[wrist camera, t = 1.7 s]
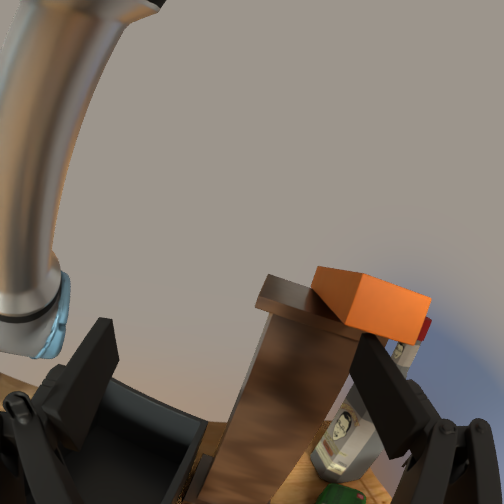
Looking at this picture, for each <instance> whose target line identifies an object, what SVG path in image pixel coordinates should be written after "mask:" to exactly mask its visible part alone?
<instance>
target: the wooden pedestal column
mask: <svg viewBox="0 0 504 504" xmlns="http://www.w3.org/2000/svg"><path fill="white" fill-rule="evenodd" d="M255 308H258V309H261V310H264V311H266V312H269V316H268V319H267V321H266V324H265V327H264V329H263V332H262V335H261V337H260V340H259V343H258V345H257V348H256V351H255V353H254V356H253V359H252V361H251V364H250V366H249V369H248V372H247V374H246V377H245V380H244V382H243V385H242V387H241V390H240V393H239V395H238V397H237V400H236V403H235V405H234V407H233V410H232V412H231V415H230V418H229V420H228V422H227V425H226V427H225V429H224V432H223V434H222V437H221V439H220V441H219V444H218V446H217V449H216V451H215V453H214V456H213V457H212V456H209V455H206V454H203V455H202V457H201V460H200V462H199V464H198V467H197V469H196V472H195V474H194V476H193V479H192V481H191V483H190V486H189V488H188V490H187V493H186V495H185V497H184V500H183V502H182V504H270V501H271V498H272V497H273V495H274V494H275V493H276V491H277V490H278V489H279V487H280V486H281V485H282V483H283V482H284V481H285V479H286V478H287V476H288V475H289V474H290V472H291V471H292V469H293V468H294V466H295V465H296V464H297V462H298V461H299V459H300V458H301V456H302V455H303V453H304V452H305V450H306V448H307V447H308V445H309V444H310V442H311V441H312V439H313V437H314V436H315V434H316V433H317V431H318V429H319V428H320V426H321V424H322V423H323V421H324V419H325V418H326V416H327V414H328V412H329V411H330V409H331V407H332V405H333V403H334V402H335V400H336V398H337V396H338V394H339V393H340V391H341V388H342V387H343V385H344V383H345V381H346V379H347V377H348V375H349V369H350V366H351V363H352V361H353V358H354V355H355V352H356V349H357V346H358V343H359V340H360V337H361V334H362V333H369V332H366V331H362V330H359V329H356V328H353V327H350V326H347V325H345V324H344V323H343V322H342V321H341V320H340V319H339V318H338V317H337V315H336V314H335V313H334V312H333V311H332V310H331V309H330V308H329V307H328V305H327V304H326V303H325V302H324V301H323V300H322V299H321V298H320V297H319V295H318V294H317V293H316V292H315V291H314V290H313V289H312V288H308V287H306V286H303V285H300V284H296V283H293V282H291V281H288V280H285V279H282V278H279V277H276V276H273V275H270V274H268V276H267V278H266V280H265V282H264V285H263V287H262V289H261V291H260V294H259V296H258V298H257V302H256V305H255ZM376 337H377V338H378V339H379V341H380V342H381V344H382V345H383V347H384V348H385V346H386V344H387V341H388V338H385V337H382V336H378V335H376Z"/></svg>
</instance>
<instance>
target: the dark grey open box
mask: <svg viewBox="0 0 504 504" xmlns="http://www.w3.org/2000/svg"><path fill="white" fill-rule="evenodd" d="M207 425H208V421H206V420H203V419H201V418H198V417H196V416H193V415H191V414H188V413H186V412H183V411H181V410H178V409H176V408H173V407H171V406H169V405H167V404H165V403H162V402H160V401H158V400H156V399H154V398H152V397H149V396H147V395H145V394H143V393H141V392H139V391H137V390H135V389H133V388H131V387H129V386H127V385H125V384H124V383H122V382H120V381H118V380H116V379H114V378H112V377H111V379H110V382H109V384H108V386H107V388H106V390H105V393H104V395H103V397H102V399H101V402H100V404H99V406H98V409H97V411H96V413H95V416H94V418H93V421H92V423H91V425H90V428H89V430H88V433H87V435H86V438H85V440H84V443H83V445H82V448H81V451H80V452H77V451H74V450H71V449H68V448H65V447H64V445H63V444H62V442H61V441H59V444H58V446H57V447H58V448H59V450H60V452H61V455H62V457H63V460H64V462H65V464H66V466H67V469H68V471H69V473H70V475H71V477H72V480H73V482H74V484H75V486H76V488H77V490H78V492H79V494H80V496H81V497H82V499H83V501H84V503H85V504H176V502H177V500H178V498H179V495H180V493H181V491H182V489H183V487H184V484H185V482H186V480H187V478H188V475H189V473H190V471H191V468H192V466H193V463H194V460H195V458H196V455H197V452H198V449H199V447H200V444H201V441H202V438H203V436H204V433H205V430H206V427H207ZM23 475H24V486H25V495H26V503H27V504H36V503H35V500H34V498H33V495H32V492H31V490H30V487H29V484H28V481H27V478H26V475H25V472H24V469H23Z"/></svg>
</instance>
